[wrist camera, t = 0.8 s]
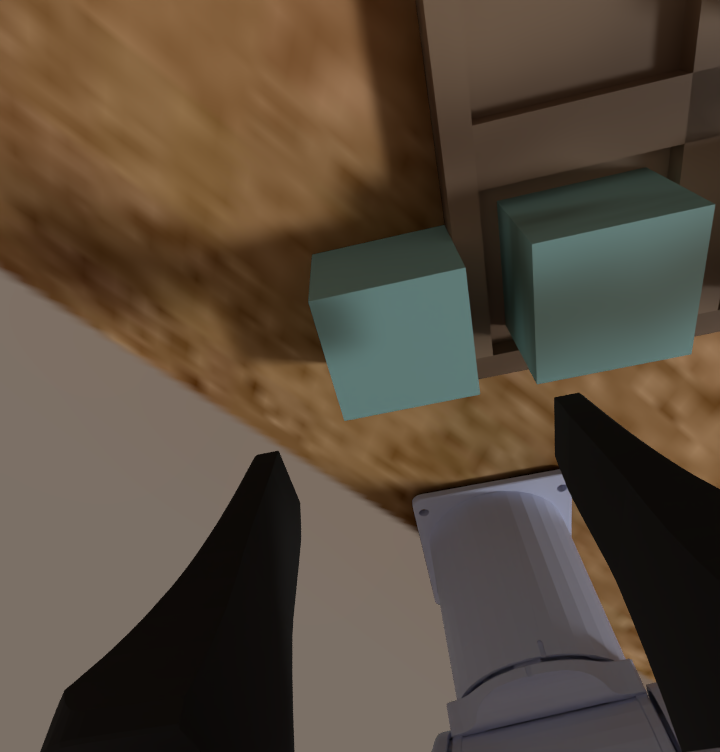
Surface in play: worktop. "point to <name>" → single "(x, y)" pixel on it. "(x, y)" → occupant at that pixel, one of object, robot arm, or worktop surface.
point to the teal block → (395, 322)
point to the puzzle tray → (579, 176)
